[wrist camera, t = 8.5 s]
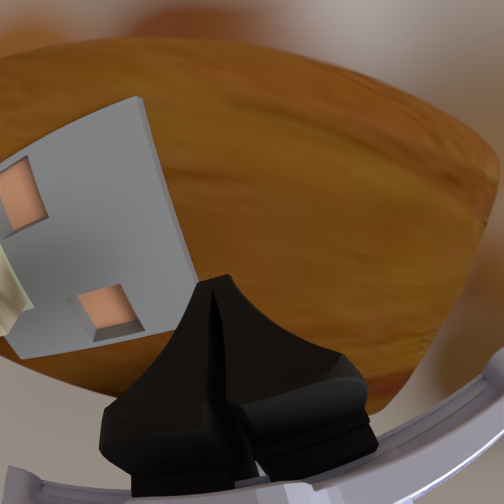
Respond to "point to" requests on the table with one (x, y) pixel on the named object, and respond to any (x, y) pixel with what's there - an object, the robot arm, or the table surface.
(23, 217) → the board
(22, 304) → the beech block
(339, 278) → the table surface
